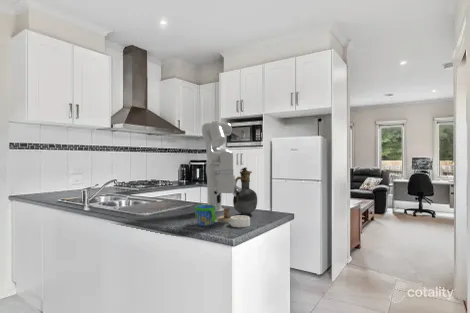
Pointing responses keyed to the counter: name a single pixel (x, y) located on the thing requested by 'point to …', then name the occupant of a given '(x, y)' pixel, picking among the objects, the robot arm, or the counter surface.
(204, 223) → the snack cup
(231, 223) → the bowl
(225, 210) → the lid
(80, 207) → the counter surface
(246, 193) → the pitcher
